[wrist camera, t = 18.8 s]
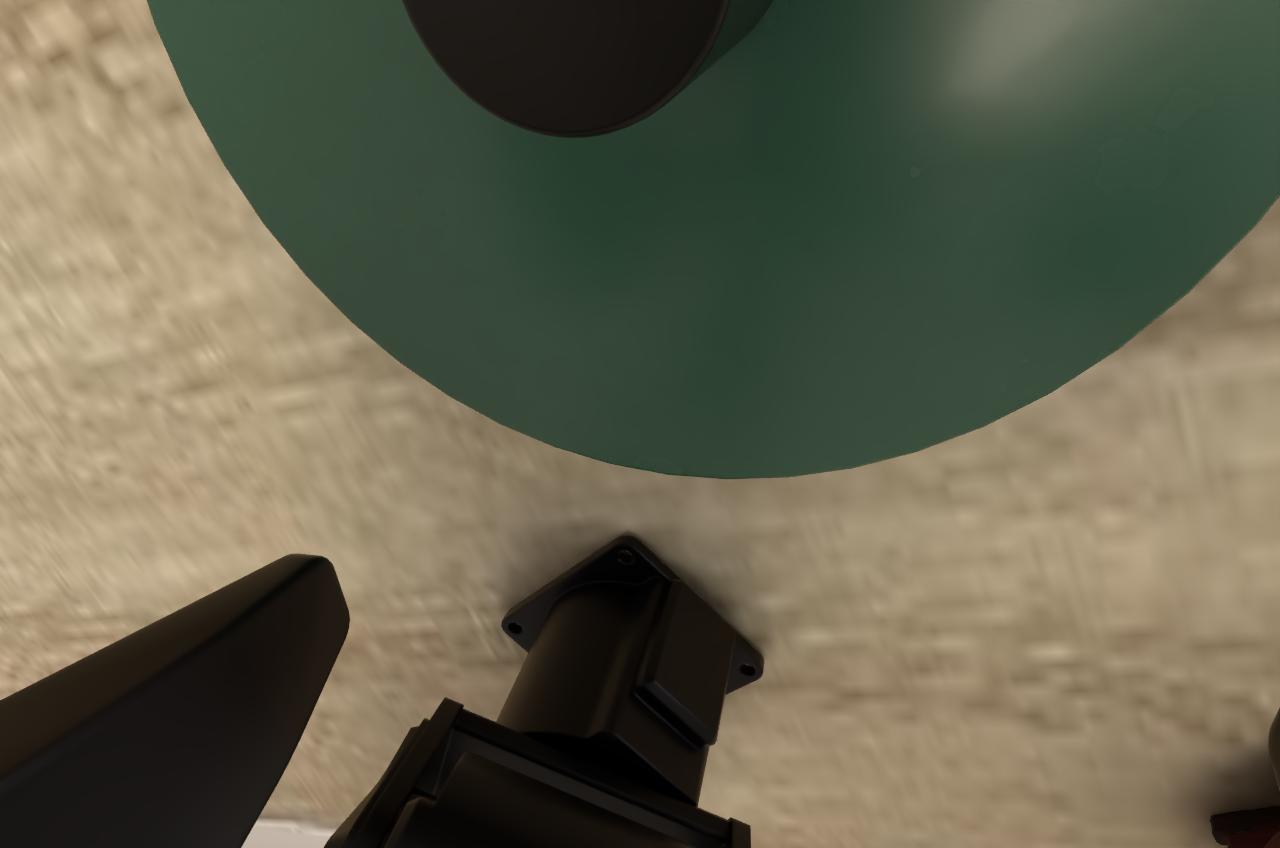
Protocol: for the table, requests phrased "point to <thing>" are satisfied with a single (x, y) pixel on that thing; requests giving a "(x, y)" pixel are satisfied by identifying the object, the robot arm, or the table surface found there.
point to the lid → (743, 200)
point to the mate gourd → (1248, 829)
